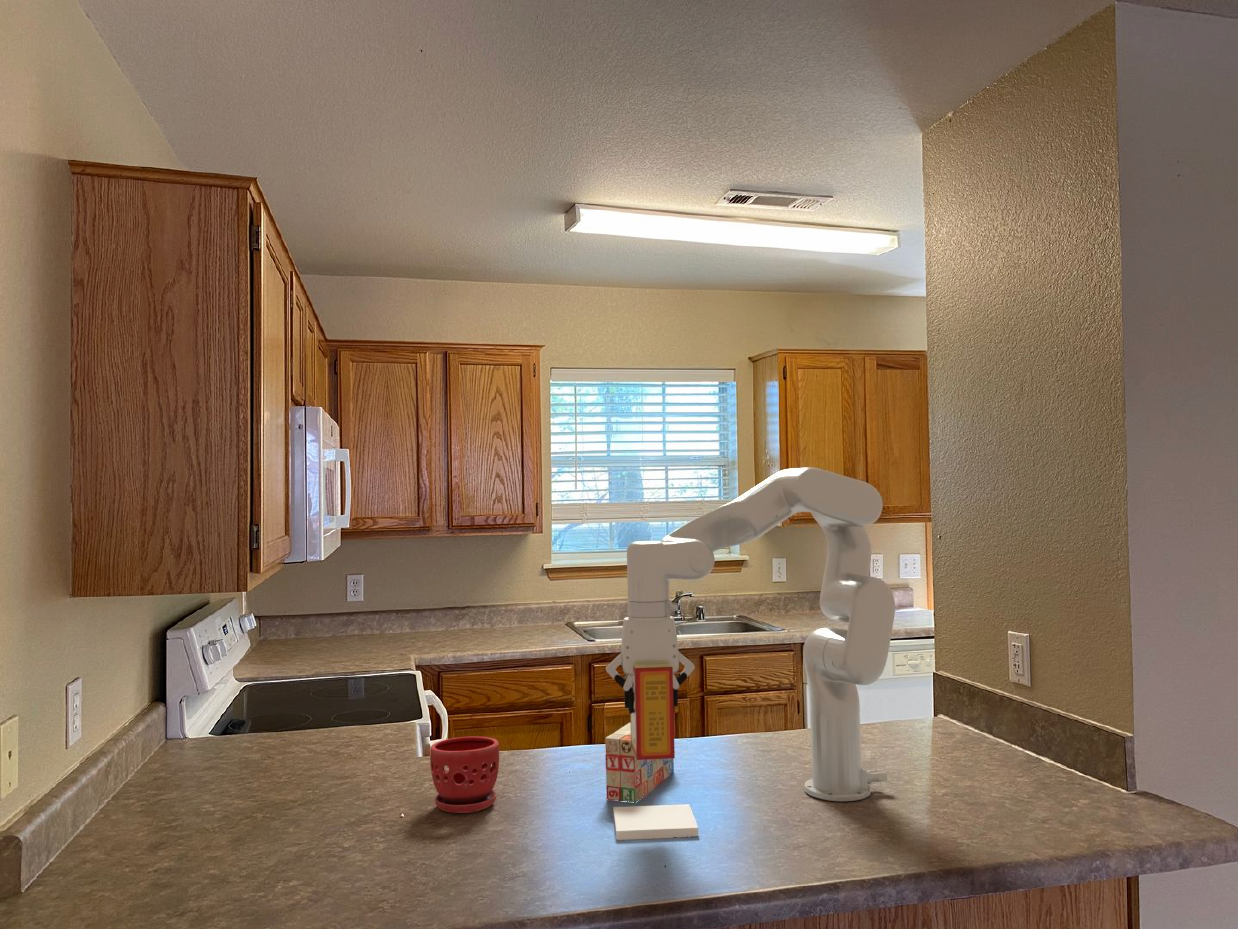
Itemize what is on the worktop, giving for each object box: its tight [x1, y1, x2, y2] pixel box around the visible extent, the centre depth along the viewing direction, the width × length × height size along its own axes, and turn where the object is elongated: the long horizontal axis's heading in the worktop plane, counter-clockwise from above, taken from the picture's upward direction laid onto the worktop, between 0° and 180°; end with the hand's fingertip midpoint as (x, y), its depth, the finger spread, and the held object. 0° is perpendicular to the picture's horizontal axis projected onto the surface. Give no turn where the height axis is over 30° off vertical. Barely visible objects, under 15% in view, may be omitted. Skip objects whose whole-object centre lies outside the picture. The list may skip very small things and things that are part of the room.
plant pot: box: [429, 736, 500, 814], centre depth 172 cm, size 13×13×12 cm
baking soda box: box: [629, 664, 676, 760], centre depth 160 cm, size 10×6×16 cm
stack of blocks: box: [604, 722, 675, 804], centre depth 182 cm, size 21×6×12 cm, turn 157°
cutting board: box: [612, 803, 699, 841], centre depth 159 cm, size 14×12×2 cm
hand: (651, 710), depth 160 cm, fingers closed on baking soda box, 6 cm apart
